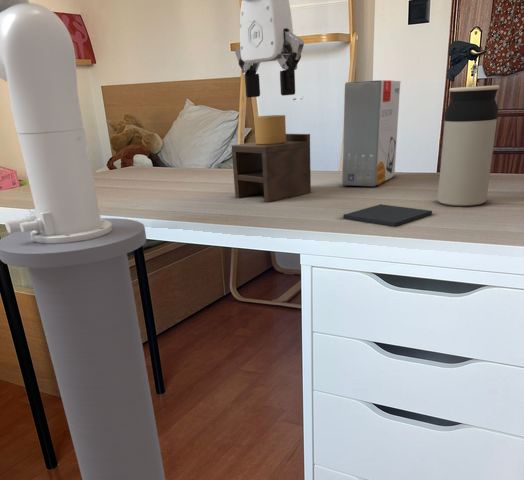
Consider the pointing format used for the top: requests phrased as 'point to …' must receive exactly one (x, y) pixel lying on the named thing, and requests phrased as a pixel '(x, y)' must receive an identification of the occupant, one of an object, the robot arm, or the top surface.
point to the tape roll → (270, 129)
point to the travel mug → (468, 145)
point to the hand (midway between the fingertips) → (270, 96)
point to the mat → (387, 215)
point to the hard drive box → (370, 132)
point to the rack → (273, 168)
